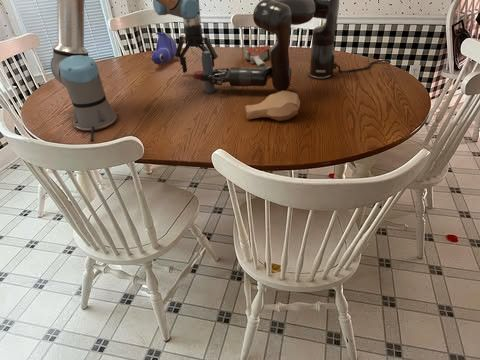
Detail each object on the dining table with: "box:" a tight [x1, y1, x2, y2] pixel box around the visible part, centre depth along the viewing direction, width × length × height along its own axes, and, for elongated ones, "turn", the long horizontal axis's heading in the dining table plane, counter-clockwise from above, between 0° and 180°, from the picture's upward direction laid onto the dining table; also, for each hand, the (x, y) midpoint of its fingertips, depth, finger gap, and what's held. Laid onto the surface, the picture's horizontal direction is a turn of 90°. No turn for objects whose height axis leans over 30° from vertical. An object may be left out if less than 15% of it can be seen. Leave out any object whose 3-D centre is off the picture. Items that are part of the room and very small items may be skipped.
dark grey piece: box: [200, 51, 216, 94], centre depth 147 cm, size 4×4×16 cm
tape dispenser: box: [243, 45, 270, 68], centre depth 179 cm, size 18×5×20 cm
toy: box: [150, 31, 178, 69], centre depth 181 cm, size 10×17×25 cm
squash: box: [244, 90, 301, 122], centre depth 127 cm, size 11×20×9 cm, turn 92°
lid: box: [193, 70, 203, 79], centre depth 167 cm, size 5×5×2 cm
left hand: (198, 73), depth 166 cm, fingers open, 13 cm apart
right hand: (202, 76), depth 149 cm, fingers closed on dark grey piece, 4 cm apart
